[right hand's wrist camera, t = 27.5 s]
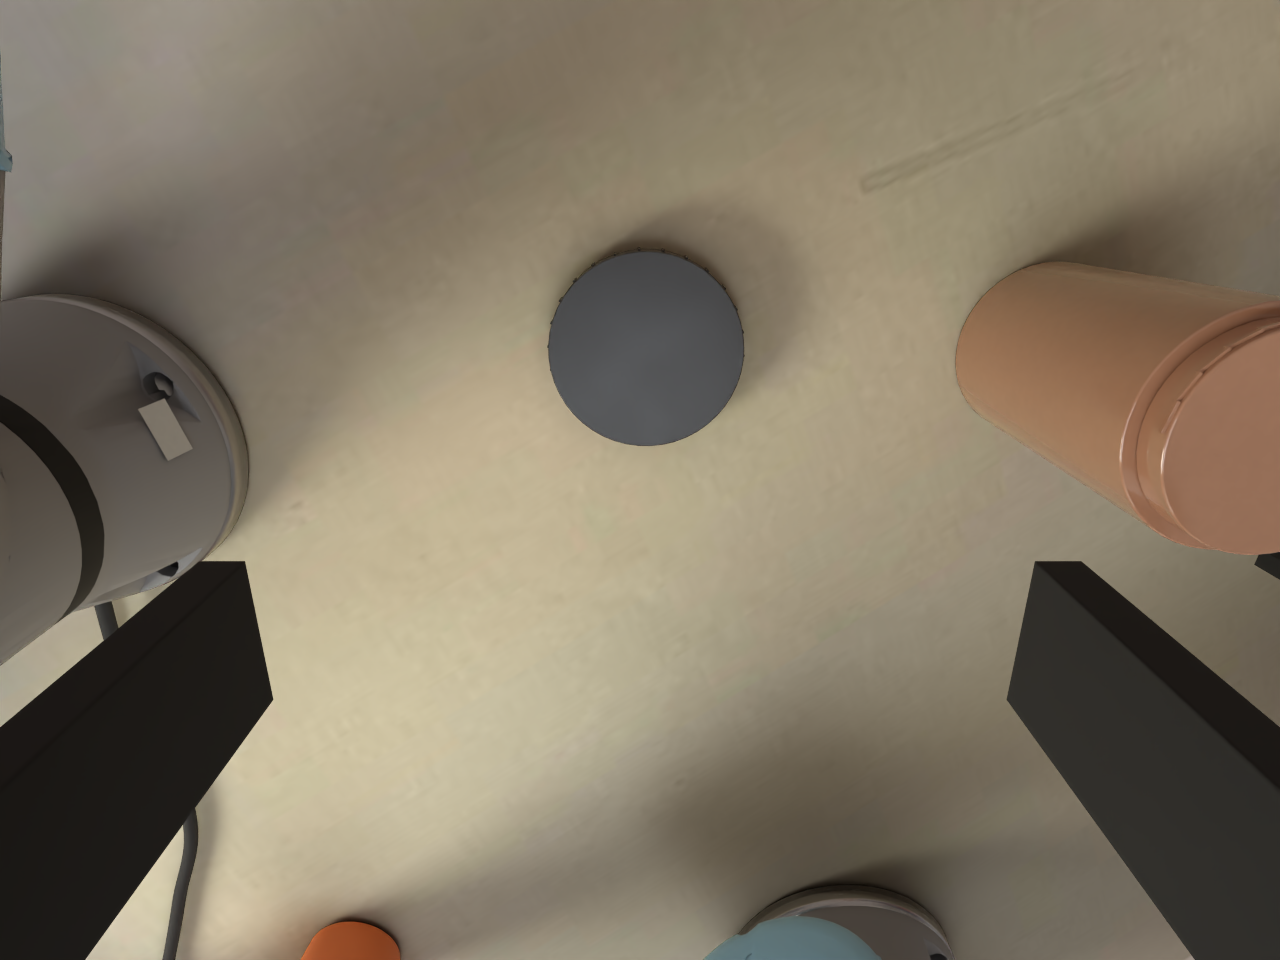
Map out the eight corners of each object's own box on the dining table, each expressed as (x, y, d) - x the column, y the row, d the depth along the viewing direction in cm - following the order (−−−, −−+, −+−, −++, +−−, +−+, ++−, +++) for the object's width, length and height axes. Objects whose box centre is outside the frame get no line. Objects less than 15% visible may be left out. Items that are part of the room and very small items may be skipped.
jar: (1159, 284, 36) (1492, 343, 22) (1083, 447, 39) (1336, 591, 25) (994, 242, 36) (1229, 275, 21) (930, 411, 38) (1099, 539, 24)
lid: (588, 460, 39) (585, 470, 38) (522, 283, 36) (517, 287, 35) (762, 406, 38) (767, 414, 37) (710, 219, 35) (713, 220, 34)
